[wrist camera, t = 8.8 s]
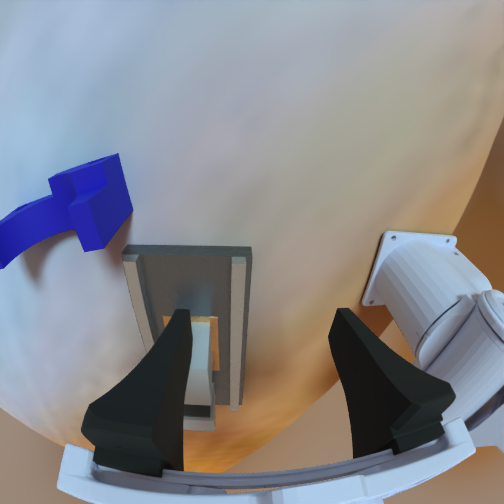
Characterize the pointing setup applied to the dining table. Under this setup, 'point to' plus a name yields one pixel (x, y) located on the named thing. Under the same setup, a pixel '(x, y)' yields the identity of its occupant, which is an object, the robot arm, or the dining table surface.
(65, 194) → the cable clip
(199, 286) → the rail
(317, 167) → the dining table surface
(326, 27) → the dining table surface
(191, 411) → the small hollow grey box
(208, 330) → the pale grey block
